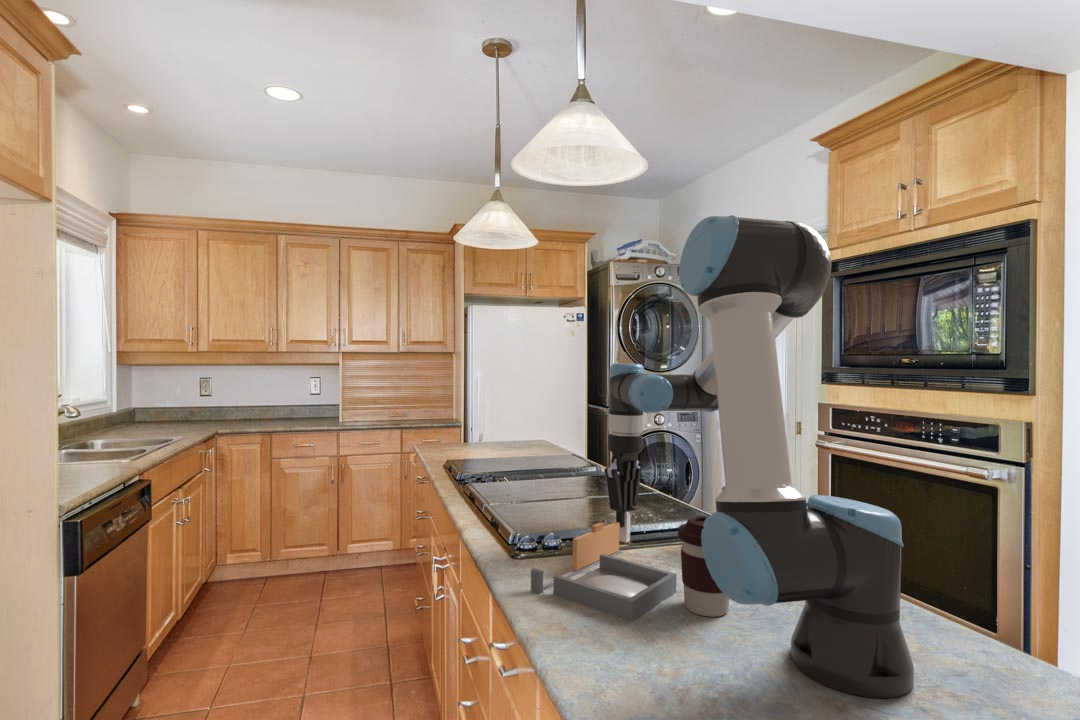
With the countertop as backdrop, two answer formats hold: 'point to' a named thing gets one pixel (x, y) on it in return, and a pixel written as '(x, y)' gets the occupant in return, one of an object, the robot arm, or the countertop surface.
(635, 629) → the countertop surface
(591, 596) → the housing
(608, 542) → the lid panel
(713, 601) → the coffee cup
